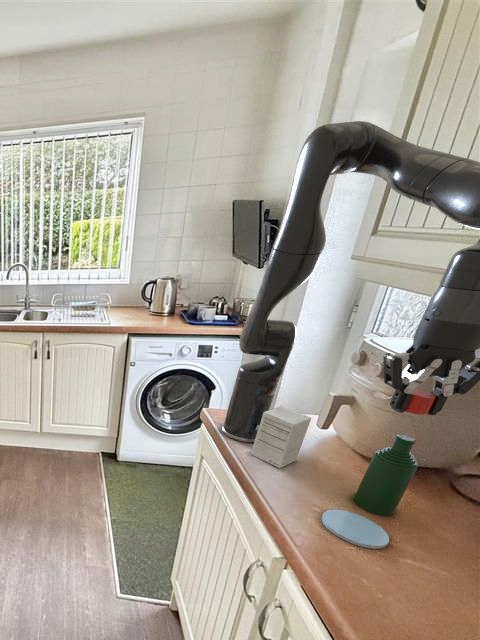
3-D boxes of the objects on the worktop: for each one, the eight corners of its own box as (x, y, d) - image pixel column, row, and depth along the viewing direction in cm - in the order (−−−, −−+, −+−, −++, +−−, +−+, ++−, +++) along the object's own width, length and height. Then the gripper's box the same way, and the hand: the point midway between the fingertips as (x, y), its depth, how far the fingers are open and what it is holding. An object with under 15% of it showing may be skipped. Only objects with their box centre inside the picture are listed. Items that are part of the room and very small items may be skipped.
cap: (390, 403, 73) (398, 387, 72) (417, 405, 72) (425, 389, 71) (405, 413, 70) (413, 396, 69) (433, 415, 69) (442, 398, 68)
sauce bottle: (345, 496, 90) (375, 430, 83) (373, 495, 90) (405, 429, 83) (372, 516, 84) (407, 447, 77) (402, 515, 84) (439, 446, 77)
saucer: (311, 509, 86) (313, 506, 86) (367, 516, 84) (369, 513, 84) (337, 543, 77) (339, 540, 77) (401, 553, 75) (403, 550, 75)
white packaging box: (266, 447, 108) (280, 405, 103) (296, 461, 102) (313, 417, 97) (249, 454, 106) (262, 411, 100) (279, 469, 99) (295, 424, 94)
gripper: (493, 312, 66) (445, 406, 73) (388, 309, 69) (351, 399, 76) (540, 324, 59) (481, 426, 66) (421, 319, 62) (377, 417, 69)
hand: (412, 411), depth 71 cm, fingers closed on cap, 4 cm apart
